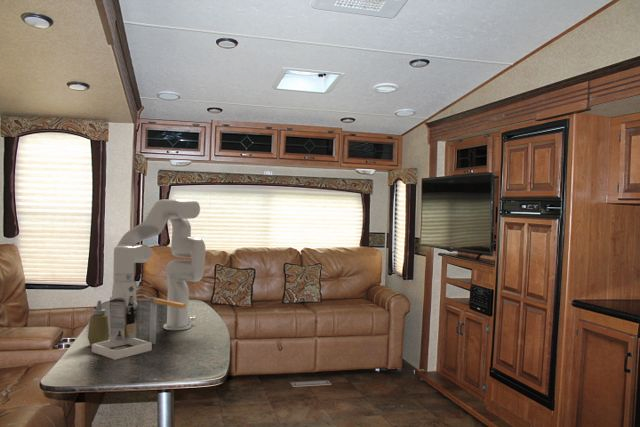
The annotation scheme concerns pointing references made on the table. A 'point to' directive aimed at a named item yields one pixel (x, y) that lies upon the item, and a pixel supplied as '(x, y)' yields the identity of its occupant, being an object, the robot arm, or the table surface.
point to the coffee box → (121, 322)
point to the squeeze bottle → (98, 325)
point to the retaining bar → (167, 302)
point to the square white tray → (129, 342)
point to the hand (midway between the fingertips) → (123, 321)
